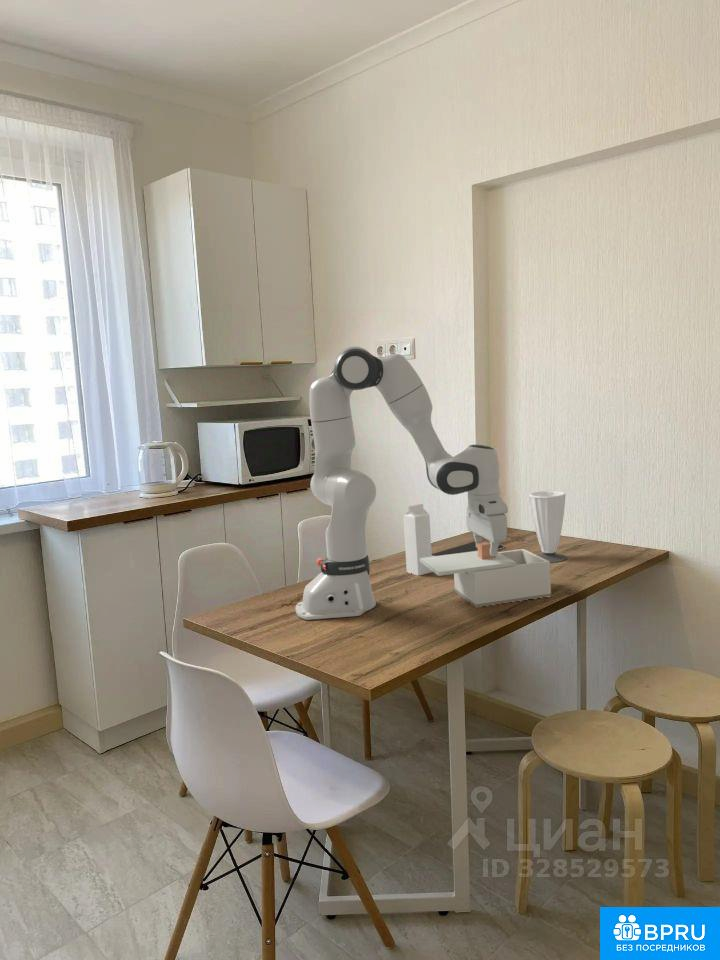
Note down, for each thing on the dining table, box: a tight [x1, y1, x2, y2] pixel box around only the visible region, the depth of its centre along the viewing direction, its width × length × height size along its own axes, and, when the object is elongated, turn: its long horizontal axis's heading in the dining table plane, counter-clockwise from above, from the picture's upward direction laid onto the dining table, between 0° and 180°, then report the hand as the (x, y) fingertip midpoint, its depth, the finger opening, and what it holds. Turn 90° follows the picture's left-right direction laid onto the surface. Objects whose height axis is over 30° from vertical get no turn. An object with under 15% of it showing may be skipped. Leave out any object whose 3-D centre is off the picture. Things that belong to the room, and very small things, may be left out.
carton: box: [453, 548, 552, 608], centre depth 200 cm, size 22×16×10 cm
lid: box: [420, 541, 516, 577], centre depth 197 cm, size 22×16×5 cm
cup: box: [529, 490, 568, 564], centre depth 234 cm, size 12×12×22 cm
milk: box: [402, 503, 434, 577], centre depth 228 cm, size 6×6×22 cm
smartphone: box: [432, 540, 505, 557], centre depth 249 cm, size 13×27×2 cm, turn 131°
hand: (486, 551), depth 199 cm, fingers open, 8 cm apart
